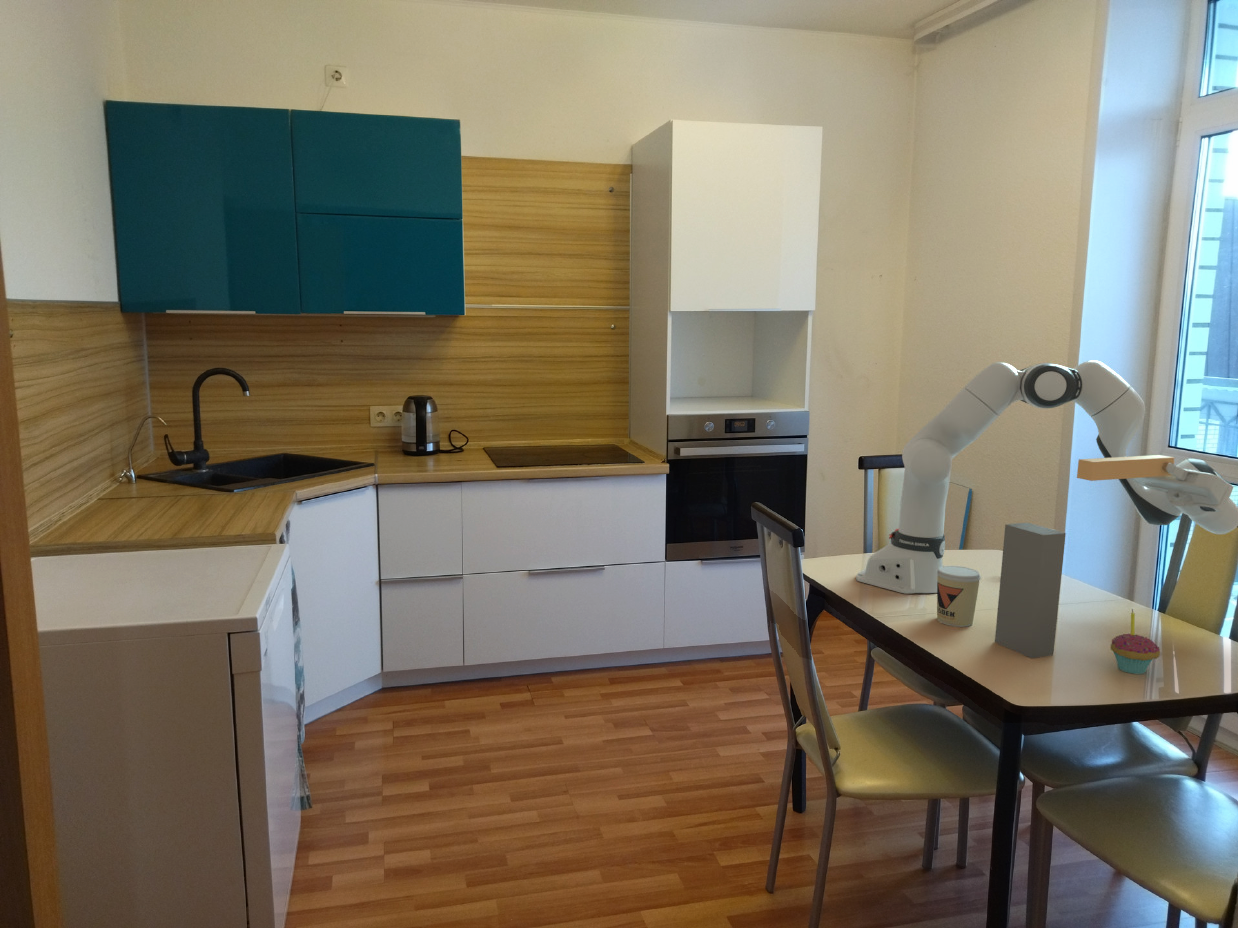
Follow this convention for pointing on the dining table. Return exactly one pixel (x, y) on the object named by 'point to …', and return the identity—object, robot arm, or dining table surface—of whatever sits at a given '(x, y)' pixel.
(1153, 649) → the cupcake
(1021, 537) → the stand
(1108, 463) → the bar
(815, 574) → the dining table surface
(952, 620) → the coffee cup
